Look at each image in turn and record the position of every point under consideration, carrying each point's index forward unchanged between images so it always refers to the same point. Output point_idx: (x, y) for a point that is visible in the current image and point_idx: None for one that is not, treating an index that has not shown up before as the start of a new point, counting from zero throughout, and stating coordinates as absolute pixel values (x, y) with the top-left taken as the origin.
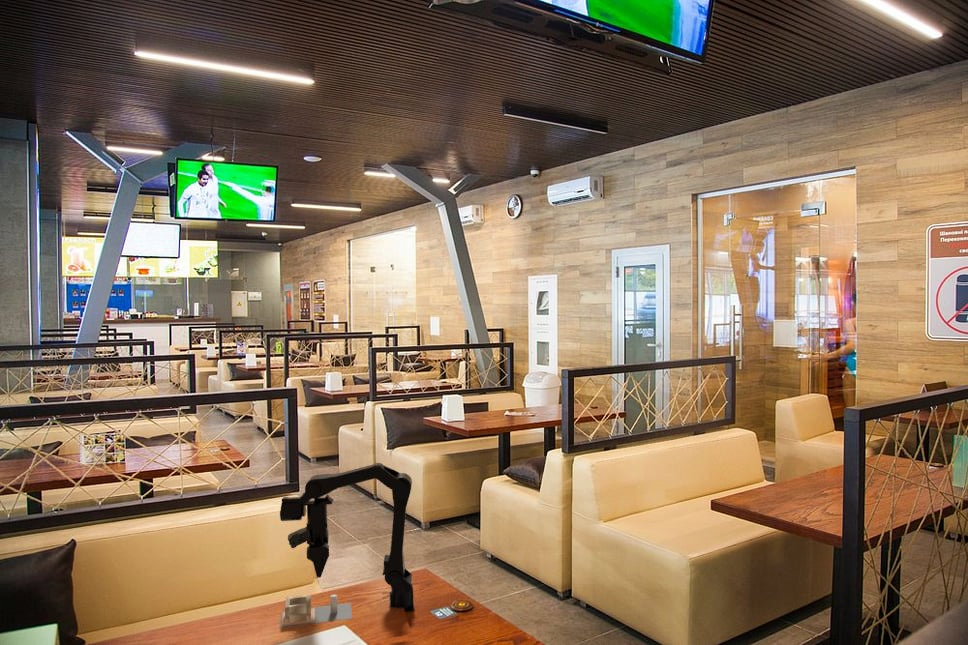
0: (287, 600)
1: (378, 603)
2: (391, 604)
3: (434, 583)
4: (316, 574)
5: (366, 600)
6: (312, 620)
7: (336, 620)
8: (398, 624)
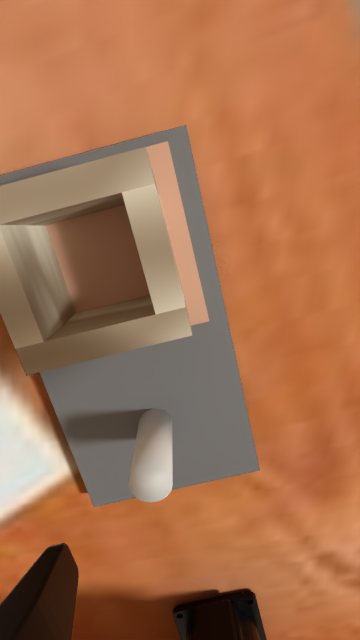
0: (88, 178)
1: (271, 548)
2: (196, 627)
3: None
4: (13, 592)
5: (309, 503)
6: None
7: (71, 450)
8: (84, 628)
